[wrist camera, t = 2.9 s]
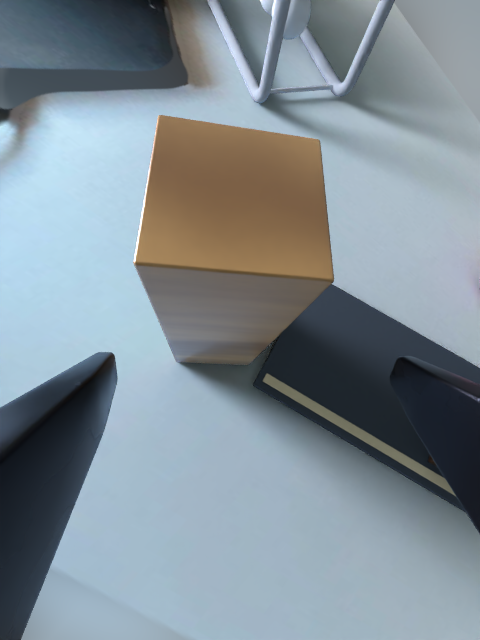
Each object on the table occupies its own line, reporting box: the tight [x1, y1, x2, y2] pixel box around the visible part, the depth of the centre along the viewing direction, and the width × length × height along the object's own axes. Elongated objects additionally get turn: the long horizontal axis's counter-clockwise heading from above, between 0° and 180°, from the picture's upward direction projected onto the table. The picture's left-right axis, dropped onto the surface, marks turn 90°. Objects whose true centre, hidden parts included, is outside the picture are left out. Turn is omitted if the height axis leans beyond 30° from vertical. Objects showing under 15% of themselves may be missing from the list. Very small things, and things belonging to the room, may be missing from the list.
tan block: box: [133, 115, 334, 365], centre depth 14 cm, size 5×5×13 cm
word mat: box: [253, 284, 480, 512], centre depth 20 cm, size 10×20×1 cm, turn 61°
